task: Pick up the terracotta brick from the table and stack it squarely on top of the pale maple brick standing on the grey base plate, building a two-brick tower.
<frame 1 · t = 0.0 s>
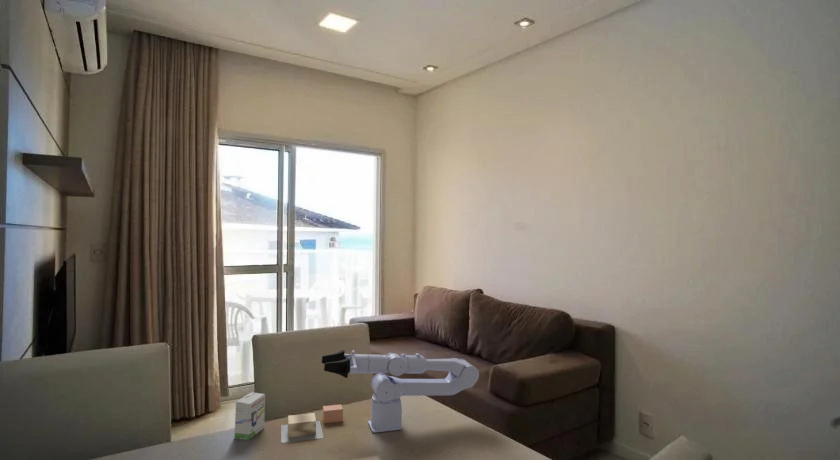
hand: (323, 363, 137), 22 cm above the table, tool horizontal, fingers open, 7 cm apart
base plate: (301, 434, 136), on the table
maple brick: (301, 431, 136), point 1 cm above the table, touching base plate
terracotta brick: (332, 423, 145), on the table
ink box: (249, 437, 134), on the table
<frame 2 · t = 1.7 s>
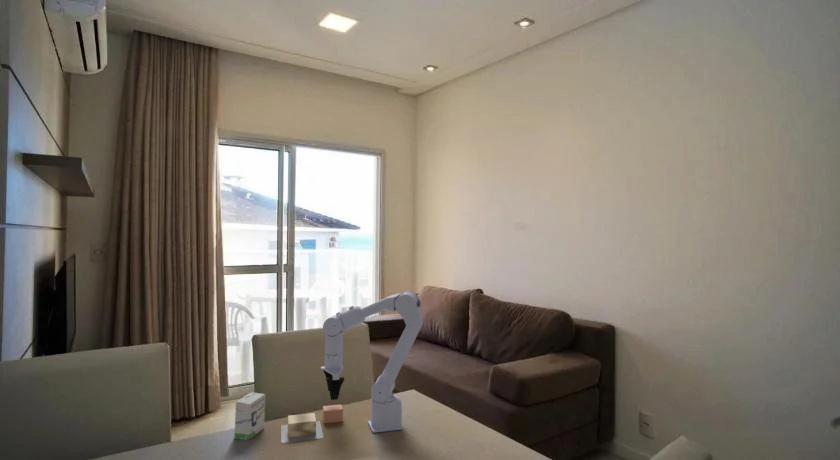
hand: (332, 394, 145), 9 cm above the table, tool pointing down, fingers open, 7 cm apart
nothing on the table moved.
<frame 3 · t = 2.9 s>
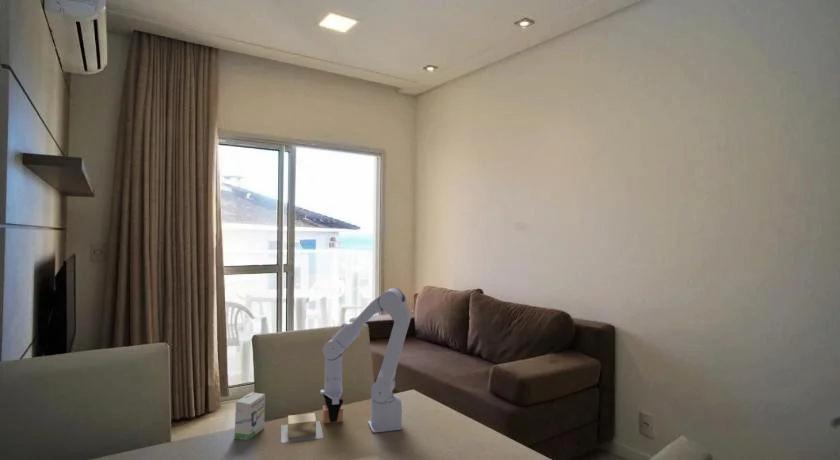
hand: (332, 418, 145), 1 cm above the table, tool pointing down, fingers closed on terracotta brick, 4 cm apart
terracotta brick: (332, 422, 145), on the table, touching gripper
everything else where it was.
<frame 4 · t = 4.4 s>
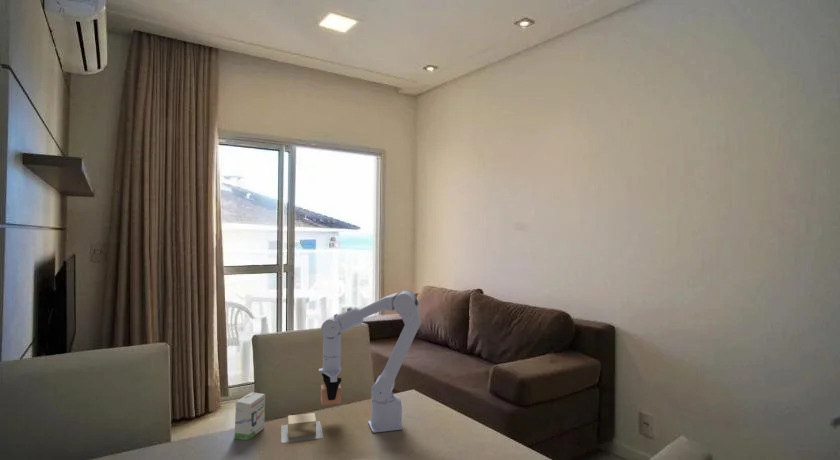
hand: (330, 397, 144), 9 cm above the table, tool pointing down, fingers closed on terracotta brick, 4 cm apart
terracotta brick: (330, 401, 144), point 7 cm above the table, touching gripper
everything else where it was.
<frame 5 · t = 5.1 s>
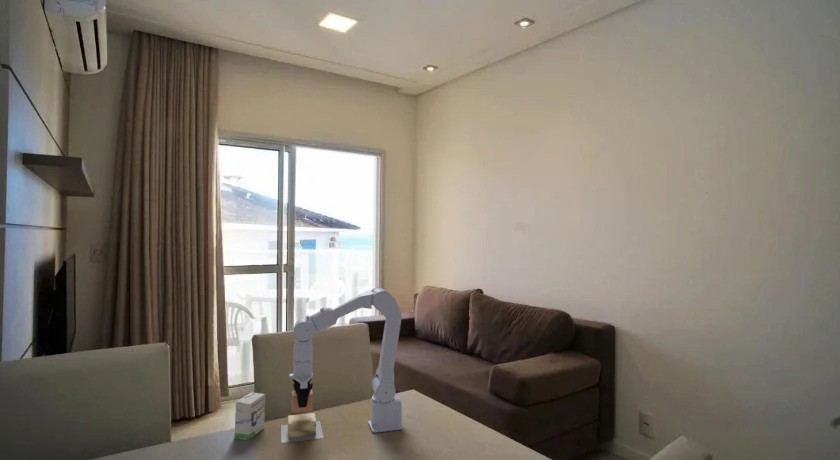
hand: (302, 404, 136), 9 cm above the table, tool pointing down, fingers closed on terracotta brick, 4 cm apart
terracotta brick: (302, 409, 136), point 8 cm above the table, touching gripper
everything else where it was.
when the fingers open (8 cm above the table, at t = 5.8 s): terracotta brick drops 1 cm, resting on maple brick.
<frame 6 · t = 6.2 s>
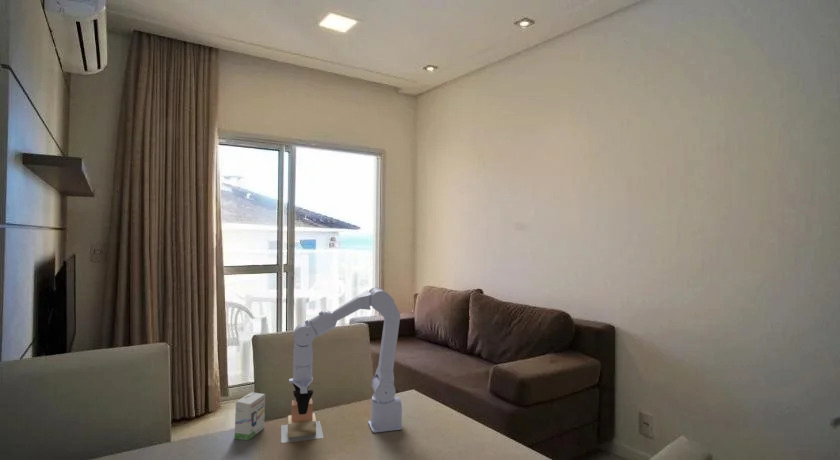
hand: (302, 408, 136), 8 cm above the table, tool pointing down, fingers open, 7 cm apart
maple brick: (301, 431, 136), point 1 cm above the table, touching base plate, terracotta brick
terracotta brick: (301, 418, 136), point 5 cm above the table, touching maple brick
everything else where it was.
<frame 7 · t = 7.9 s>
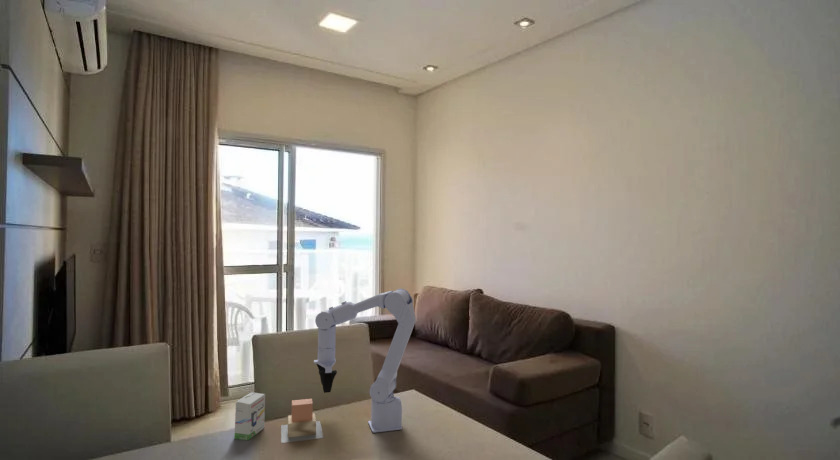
hand: (325, 388, 147), 10 cm above the table, tool pointing down, fingers open, 7 cm apart
nothing on the table moved.
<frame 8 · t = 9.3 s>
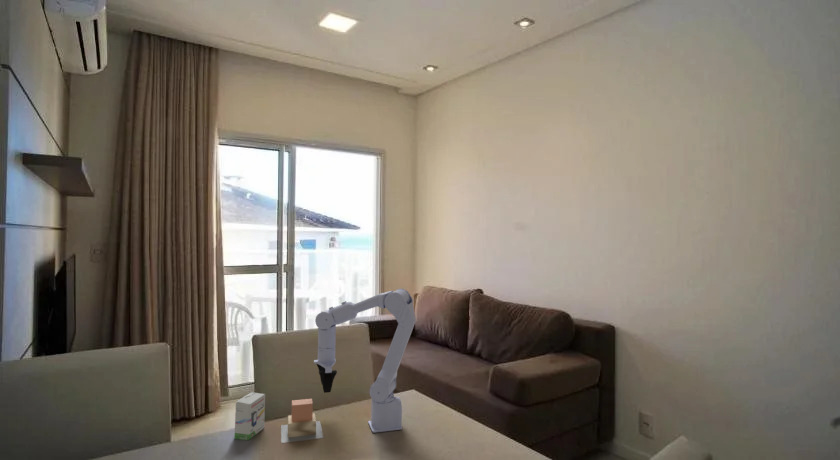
hand: (325, 387, 147), 10 cm above the table, tool pointing down, fingers open, 7 cm apart
nothing on the table moved.
at the end: terracotta brick 0.0 cm off-centre on the maple brick, point 4.0 cm above the maple brick's base; terracotta brick tilted 0°; the gripper is holding nothing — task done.
